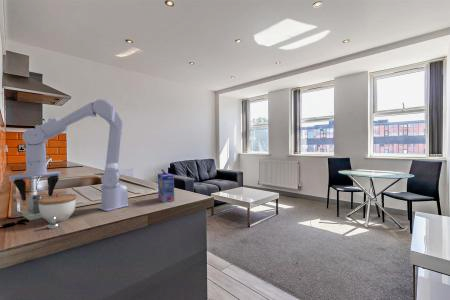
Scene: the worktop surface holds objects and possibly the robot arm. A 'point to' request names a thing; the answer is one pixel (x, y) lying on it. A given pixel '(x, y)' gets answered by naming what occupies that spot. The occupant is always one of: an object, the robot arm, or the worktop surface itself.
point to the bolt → (53, 223)
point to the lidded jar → (57, 206)
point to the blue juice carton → (165, 186)
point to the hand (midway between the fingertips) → (37, 197)
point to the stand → (30, 215)
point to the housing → (34, 203)
